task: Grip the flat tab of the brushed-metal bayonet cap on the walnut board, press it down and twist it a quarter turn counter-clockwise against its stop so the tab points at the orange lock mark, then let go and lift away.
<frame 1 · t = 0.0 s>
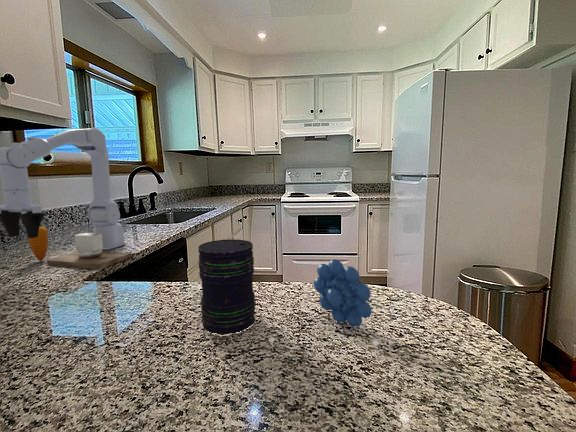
hand: (23, 236, 87), 10 cm above the countertop, fingers open, 7 cm apart
bayonet cap: (89, 244, 96), point 5 cm above the countertop, hinge at 0.0°
lock board: (91, 260, 97), on the countertop
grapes: (338, 325, 55), on the countertop
carrot: (41, 261, 98), on the countertop
dark blue cylinder: (229, 323, 56), on the countertop
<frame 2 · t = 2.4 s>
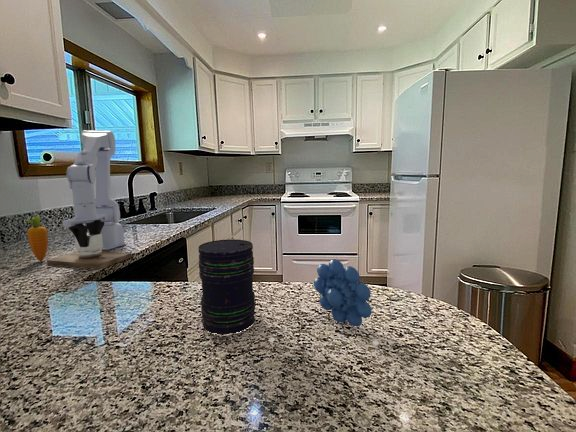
hand: (89, 245, 96), 5 cm above the countertop, fingers closed on bayonet cap, 4 cm apart
bayonet cap: (89, 244, 96), point 5 cm above the countertop, hinge at 0.0°, touching gripper
everything else where it was.
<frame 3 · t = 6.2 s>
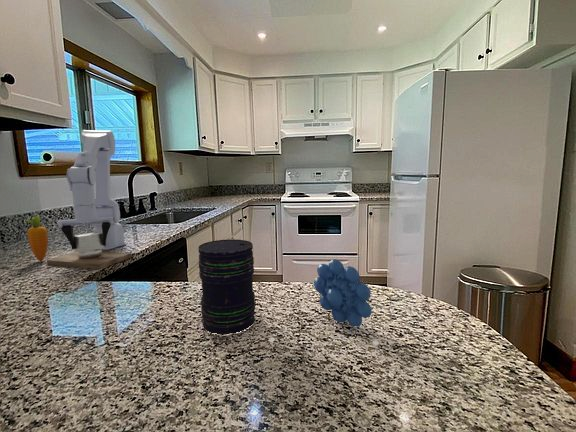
hand: (89, 246, 97), 5 cm above the countertop
bayonet cap: (89, 244, 96), point 5 cm above the countertop, hinge at 73.0°, touching gripper
everything else where it was.
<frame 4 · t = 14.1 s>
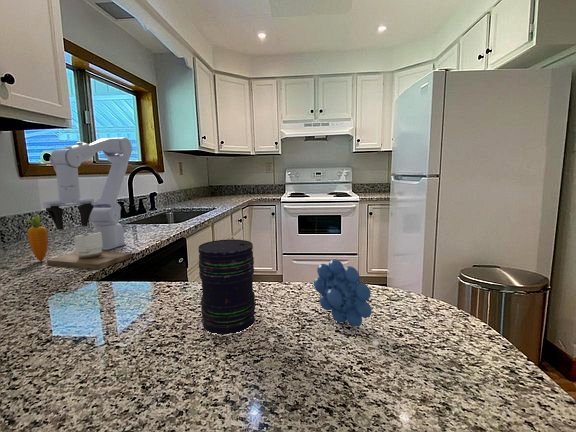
hand: (72, 227, 99), 10 cm above the countertop, fingers open, 7 cm apart
bayonet cap: (89, 244, 96), point 5 cm above the countertop, hinge at 98.2°
everything else where it was.
at the end: bayonet cap at +98° (first picture: +0°); carrot moved 0.2 cm from its start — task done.
